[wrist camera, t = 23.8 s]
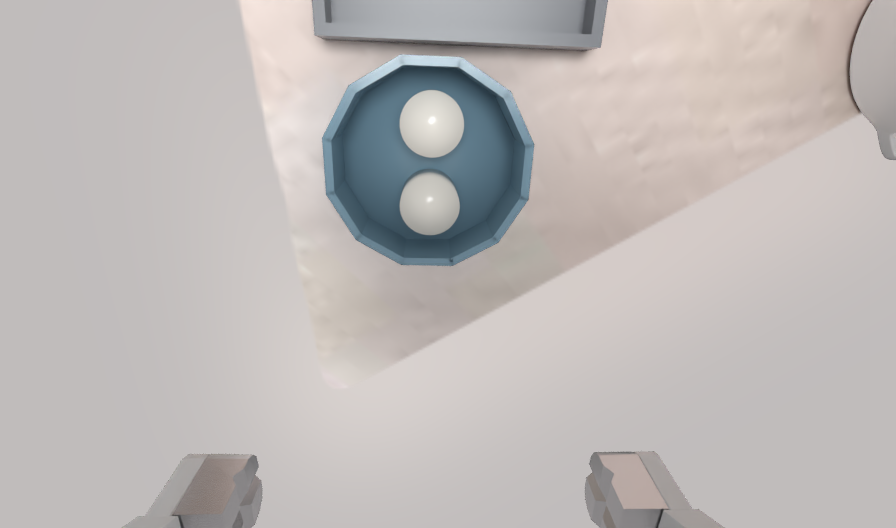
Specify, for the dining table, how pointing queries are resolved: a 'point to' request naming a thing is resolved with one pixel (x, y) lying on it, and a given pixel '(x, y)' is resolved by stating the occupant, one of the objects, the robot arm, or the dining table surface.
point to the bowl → (427, 159)
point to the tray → (465, 22)
